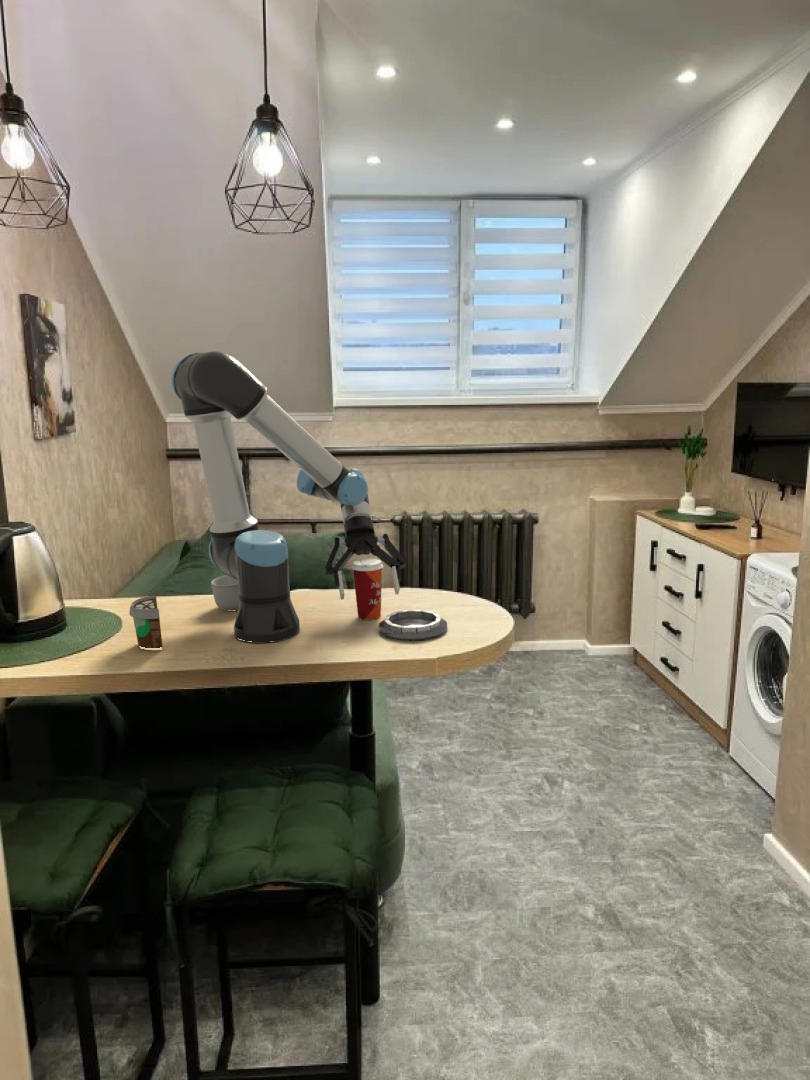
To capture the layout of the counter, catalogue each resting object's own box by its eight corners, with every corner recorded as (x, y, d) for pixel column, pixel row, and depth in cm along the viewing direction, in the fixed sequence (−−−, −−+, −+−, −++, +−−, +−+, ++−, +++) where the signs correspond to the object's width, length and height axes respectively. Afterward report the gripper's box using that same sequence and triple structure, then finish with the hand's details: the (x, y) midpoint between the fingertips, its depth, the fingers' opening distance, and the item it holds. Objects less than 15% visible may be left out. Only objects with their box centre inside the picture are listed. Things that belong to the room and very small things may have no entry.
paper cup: (381, 621, 182) (379, 565, 179) (350, 621, 183) (348, 565, 180) (387, 611, 190) (385, 557, 187) (357, 611, 191) (355, 557, 188)
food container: (132, 638, 175) (127, 597, 173) (160, 635, 177) (155, 594, 175) (133, 656, 164) (128, 612, 162) (163, 652, 166) (158, 609, 164)
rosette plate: (373, 640, 169) (372, 629, 169) (384, 617, 185) (384, 607, 184) (444, 642, 167) (444, 630, 167) (449, 618, 183) (449, 608, 182)
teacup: (250, 613, 191) (248, 583, 190) (208, 614, 192) (205, 584, 190) (262, 597, 205) (260, 569, 203) (222, 598, 205) (220, 570, 203)
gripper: (403, 527, 200) (417, 597, 189) (309, 533, 195) (318, 606, 184) (407, 510, 194) (422, 582, 182) (310, 517, 188) (319, 591, 177)
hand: (370, 594), depth 183 cm, fingers open, 13 cm apart
